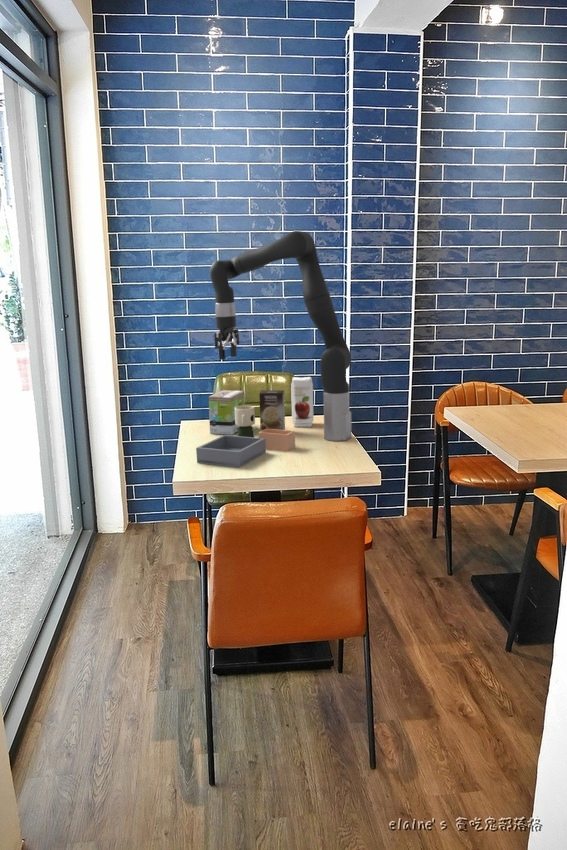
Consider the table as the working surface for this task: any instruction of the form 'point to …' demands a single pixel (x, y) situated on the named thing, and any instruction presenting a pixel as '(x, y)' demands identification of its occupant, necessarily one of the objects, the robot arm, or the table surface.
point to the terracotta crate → (278, 439)
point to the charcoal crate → (231, 450)
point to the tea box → (224, 411)
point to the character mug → (245, 420)
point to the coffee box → (272, 409)
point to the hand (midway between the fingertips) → (228, 358)
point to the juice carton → (302, 401)
